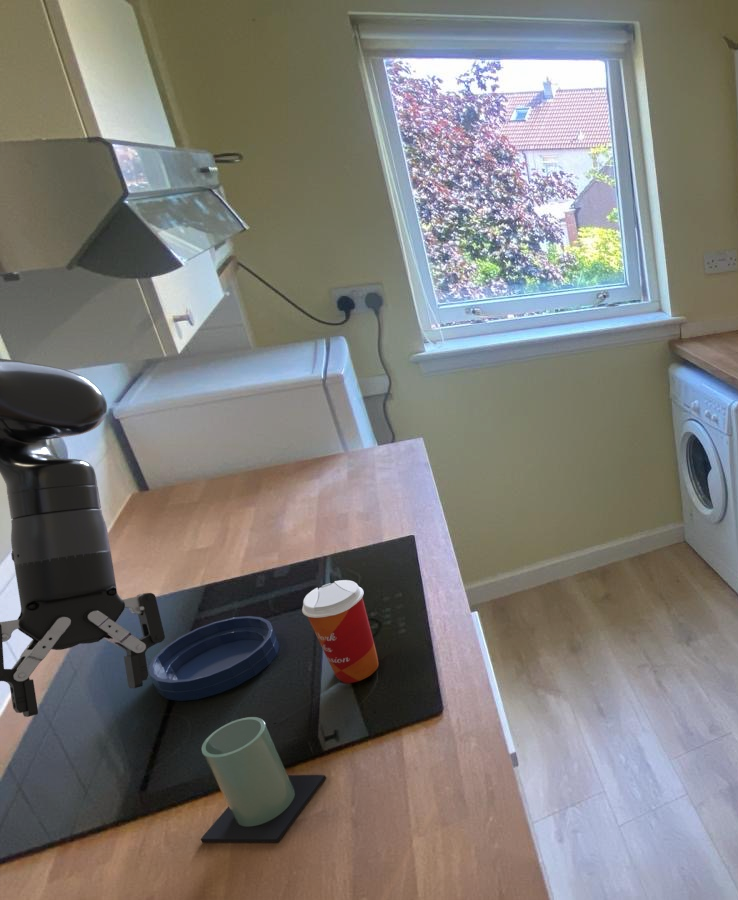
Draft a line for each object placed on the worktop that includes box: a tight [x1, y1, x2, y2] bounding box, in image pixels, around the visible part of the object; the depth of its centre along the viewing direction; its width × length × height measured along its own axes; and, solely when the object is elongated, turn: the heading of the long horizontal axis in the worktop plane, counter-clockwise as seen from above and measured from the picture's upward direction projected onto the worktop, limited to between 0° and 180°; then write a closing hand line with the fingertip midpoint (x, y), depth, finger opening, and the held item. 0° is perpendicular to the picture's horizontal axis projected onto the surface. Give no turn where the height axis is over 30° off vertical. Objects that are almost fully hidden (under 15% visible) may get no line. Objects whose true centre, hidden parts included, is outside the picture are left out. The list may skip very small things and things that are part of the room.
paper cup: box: [301, 579, 379, 684], centre depth 107 cm, size 8×8×14 cm
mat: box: [200, 774, 327, 844], centre depth 88 cm, size 9×9×1 cm
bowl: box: [148, 615, 280, 702], centre depth 111 cm, size 15×15×4 cm
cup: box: [201, 716, 295, 827], centre depth 85 cm, size 6×6×11 cm
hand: (86, 700), depth 80 cm, fingers open, 8 cm apart
